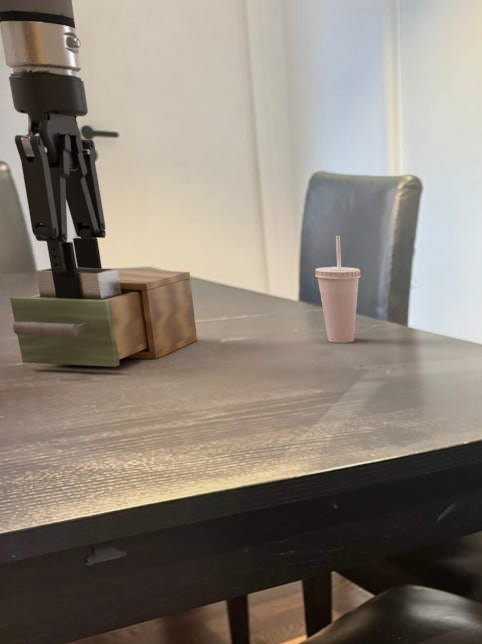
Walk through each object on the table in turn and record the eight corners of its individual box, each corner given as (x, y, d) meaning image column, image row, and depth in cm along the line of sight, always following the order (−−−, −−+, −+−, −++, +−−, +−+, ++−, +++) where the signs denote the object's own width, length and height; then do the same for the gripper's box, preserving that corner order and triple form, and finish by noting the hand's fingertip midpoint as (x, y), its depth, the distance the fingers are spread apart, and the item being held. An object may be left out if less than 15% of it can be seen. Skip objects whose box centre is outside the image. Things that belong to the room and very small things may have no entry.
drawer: (99, 374, 103) (87, 306, 100) (2, 369, 104) (-12, 302, 101) (161, 347, 119) (153, 288, 116) (76, 343, 120) (66, 284, 117)
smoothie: (328, 345, 129) (322, 237, 122) (312, 338, 133) (306, 234, 127) (370, 342, 131) (366, 237, 125) (353, 335, 136) (349, 233, 130)
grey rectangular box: (40, 302, 108) (35, 270, 106) (63, 297, 113) (58, 266, 111) (102, 305, 107) (97, 273, 106) (122, 299, 112) (118, 268, 110)
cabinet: (156, 359, 117) (146, 283, 112) (61, 354, 117) (47, 279, 113) (197, 340, 130) (189, 271, 125) (111, 336, 130) (101, 268, 126)
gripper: (34, 65, 91) (75, 310, 101) (116, 81, 107) (144, 291, 118) (-38, 63, 91) (10, 307, 102) (55, 80, 108) (87, 288, 118)
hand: (82, 298), depth 110 cm, fingers closed on grey rectangular box, 5 cm apart
